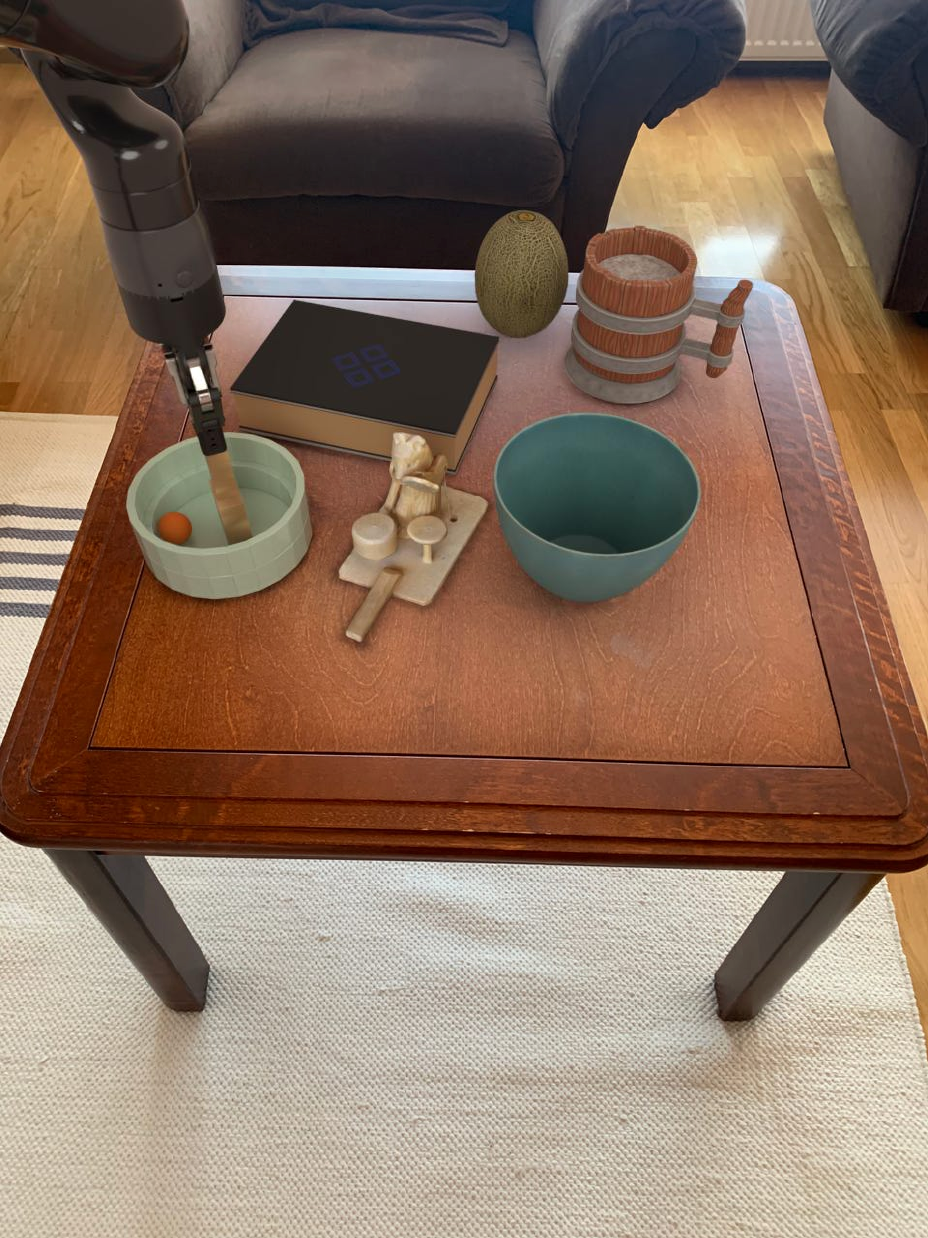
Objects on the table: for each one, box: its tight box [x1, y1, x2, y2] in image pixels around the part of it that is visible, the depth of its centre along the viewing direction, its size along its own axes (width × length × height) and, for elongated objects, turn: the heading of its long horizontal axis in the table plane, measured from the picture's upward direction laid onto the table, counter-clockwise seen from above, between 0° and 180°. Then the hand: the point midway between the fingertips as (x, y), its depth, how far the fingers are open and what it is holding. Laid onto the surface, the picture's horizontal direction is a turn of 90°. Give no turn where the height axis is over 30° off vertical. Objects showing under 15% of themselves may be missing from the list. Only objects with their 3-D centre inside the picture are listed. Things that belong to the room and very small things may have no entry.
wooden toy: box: [337, 431, 489, 643], centre depth 86 cm, size 22×10×14 cm, turn 155°
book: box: [229, 299, 500, 477], centre depth 103 cm, size 17×25×7 cm
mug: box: [563, 224, 754, 405], centre depth 104 cm, size 14×19×15 cm
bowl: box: [125, 431, 313, 600], centre depth 90 cm, size 17×17×7 cm
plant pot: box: [493, 412, 702, 604], centre depth 86 cm, size 18×18×12 cm
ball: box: [158, 512, 192, 545], centre depth 90 cm, size 3×3×3 cm
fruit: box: [474, 209, 570, 339], centre depth 110 cm, size 11×11×15 cm
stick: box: [204, 450, 253, 545], centre depth 85 cm, size 2×4×16 cm, turn 22°
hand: (211, 442), depth 83 cm, fingers closed on stick, 2 cm apart
